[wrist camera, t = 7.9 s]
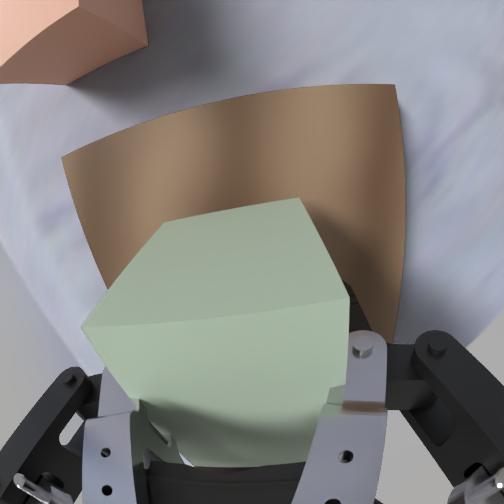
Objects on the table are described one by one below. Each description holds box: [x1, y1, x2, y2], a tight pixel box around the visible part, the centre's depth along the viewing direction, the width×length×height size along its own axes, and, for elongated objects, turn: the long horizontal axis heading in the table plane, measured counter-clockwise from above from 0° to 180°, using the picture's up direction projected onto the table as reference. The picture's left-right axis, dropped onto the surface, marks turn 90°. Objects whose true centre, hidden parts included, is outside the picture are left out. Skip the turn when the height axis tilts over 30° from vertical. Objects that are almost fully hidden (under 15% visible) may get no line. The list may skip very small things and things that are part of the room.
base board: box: [61, 84, 406, 344], centre depth 13 cm, size 15×15×2 cm
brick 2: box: [81, 198, 350, 467], centre depth 9 cm, size 5×7×6 cm
